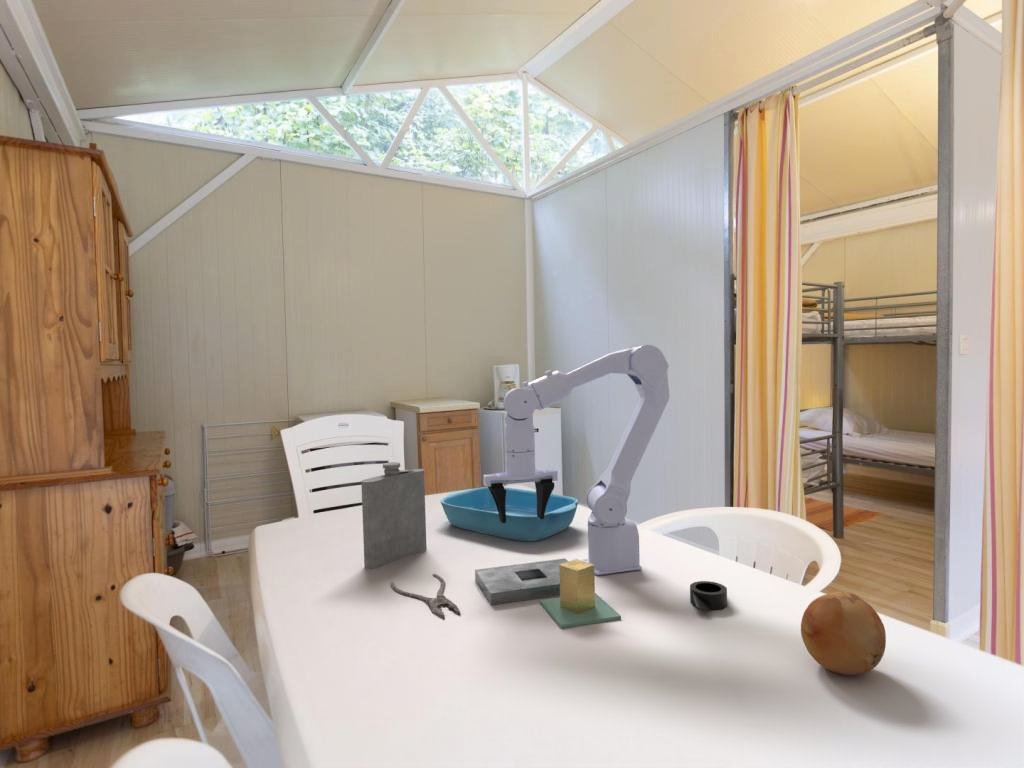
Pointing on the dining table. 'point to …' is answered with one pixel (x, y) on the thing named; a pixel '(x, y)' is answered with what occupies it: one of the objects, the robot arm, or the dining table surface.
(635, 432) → the robot arm
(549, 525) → the casserole dish
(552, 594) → the grey board with hole
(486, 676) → the dining table surface
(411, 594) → the pliers
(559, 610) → the green mat
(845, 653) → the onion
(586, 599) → the brushed gold bar
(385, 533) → the hip flask
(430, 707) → the dining table surface
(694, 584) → the duct tape
